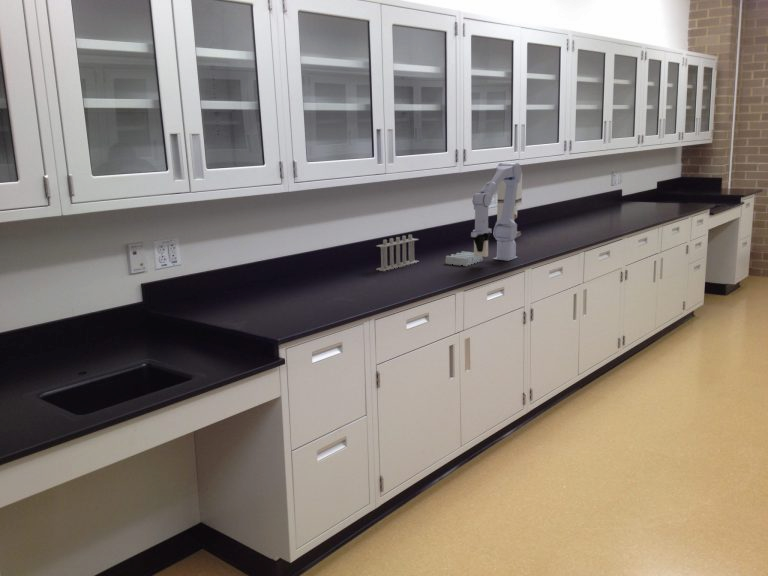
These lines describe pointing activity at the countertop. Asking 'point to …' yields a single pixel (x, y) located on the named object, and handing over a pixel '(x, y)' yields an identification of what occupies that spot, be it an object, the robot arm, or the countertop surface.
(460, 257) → the drying rack
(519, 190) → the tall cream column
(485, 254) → the cream tile
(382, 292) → the countertop surface
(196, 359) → the countertop surface
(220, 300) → the countertop surface
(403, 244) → the test tube rack
